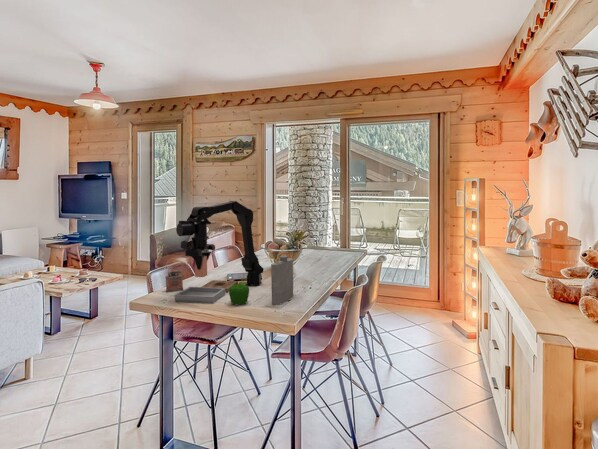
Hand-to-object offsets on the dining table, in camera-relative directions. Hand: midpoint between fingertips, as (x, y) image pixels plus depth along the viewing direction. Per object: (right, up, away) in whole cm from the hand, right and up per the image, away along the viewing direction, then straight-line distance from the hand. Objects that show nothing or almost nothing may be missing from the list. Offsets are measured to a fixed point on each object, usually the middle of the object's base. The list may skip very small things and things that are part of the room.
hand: (201, 268), depth 165 cm
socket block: (+5, -12, +16) cm, 21 cm away
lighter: (-16, -13, +12) cm, 24 cm away
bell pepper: (+19, -14, -8) cm, 25 cm away
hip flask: (+38, -14, -4) cm, 41 cm away
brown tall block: (0, -4, 0) cm, 4 cm away
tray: (0, -13, 0) cm, 13 cm away
